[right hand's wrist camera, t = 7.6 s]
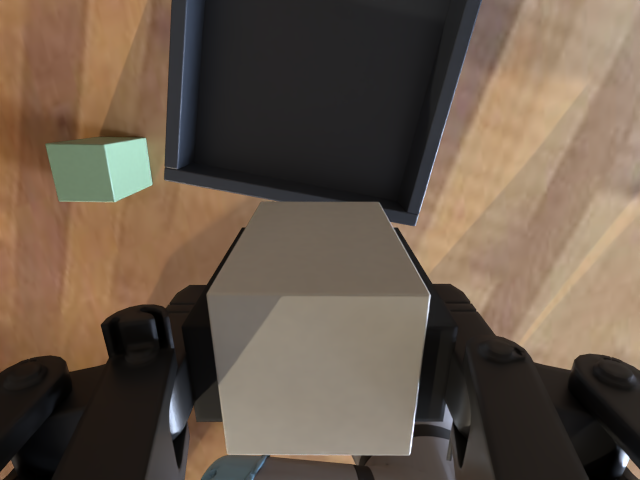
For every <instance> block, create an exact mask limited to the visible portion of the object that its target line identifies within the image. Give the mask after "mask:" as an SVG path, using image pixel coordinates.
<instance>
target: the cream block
mask: <svg viewBox="0 0 640 480" xmlns="http://www.w3.org/2000/svg"><path fill="white" fill-rule="evenodd" d="M430 296H431V295H430V293H429V291H428V289H427V287H426V286H425V284H424V282H423V280H422V279H421V277H420V275H419V273H418V271H417V270H416V268H415V266H414V264H413V262H412V261H411V259H410V257H409V255H408V253H407V252H406V250H405V248H404V246H403V244H402V243H401V241H400V239H399V237H398V235H397V234H396V232H395V230H394V228H393V226H392V225H391V223H390V221H389V219H388V217H387V216H386V214H385V212H384V210H383V208H382V207H381V205H380V203H379V202H261V203H260V204H259V206H258V208H257V209H256V211H255V213H254V215H253V216H252V218H251V220H250V221H249V223H248V225H247V226H246V228H245V230H244V231H243V233H242V235H241V237H240V238H239V240H238V242H237V243H236V245H235V247H234V248H233V250H232V252H231V253H230V255H229V257H228V259H227V260H226V262H225V264H224V265H223V267H222V269H221V270H220V272H219V274H218V275H217V277H216V279H215V281H214V282H213V284H212V286H211V287H210V289H209V291H208V292H207V303H208V311H209V318H210V326H211V334H212V342H213V349H214V357H215V365H216V373H217V381H218V388H219V396H220V404H221V412H222V419H223V427H224V435H225V443H226V450H227V454H229V455H410V453H411V445H412V438H413V430H414V422H415V414H416V406H417V398H418V390H419V383H420V375H421V367H422V359H423V351H424V343H425V336H426V328H427V320H428V312H429V304H430Z"/></svg>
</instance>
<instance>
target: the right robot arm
mask: <svg viewBox="0 0 640 480" xmlns="http://www.w3.org/2000/svg"><path fill="white" fill-rule="evenodd" d="M244 230H245V228H242V229H241V230H240V232H239V234H238V235H237V237H236V238H235V240H234V242H233V243H232V245H231V247H230V248H229V250H228V251H227V253H226V255H225V256H224V258H223V260H222V261H221V263H220V264H219V266H218V268H217V269H216V271H215V273H214V274H213V276H212V278H211V279H210V281H209V282H208V284H207V285H189V286H188V287H186V288H185V289H183V290H181V291H180V292H178V293H177V294H176V295H175V297H174V298H173V299H172V301H171V302H170V305H168V306H167V307H166V309H165V308H164V307H162V306H158V305H154V304H153V305H138V306H133V307H129V308H126V309H123V310H121V311H118V312H116V313H114V314H113V315H111V316H109V317H108V318H107V319H106V320H105V321H104V322H103V323H102V324H101V328H102V332H103V336H104V340H105V344H106V347H107V351H108V355H109V359H108V361H107V363H106V364H104V365H100V366H96V367H92V368H87V369H82V370H77V371H72V372H69V370H68V367H67V364H66V361H64V360H63V359H62V358H61V357H57V356H51V355H50V356H41V357H34V358H30V359H27V360H24V361H21V362H19V363H17V364H15V365H13V366H11V367H9V368H7V369H5V370H4V371H2V372H1V373H0V472H1V470H2V469H3V468H4V467H5V466H6V465H7V464H8V462H9V461H10V460H11V461H12V463H13V466H14V469H13V470H12V471H11V472H10V473H9V474H8V475H7V476H6V477H5V478H4V479H3V480H185V472H186V463H187V455H188V447H189V439H190V435H189V428H188V422H187V420H188V418H189V415H190V413H191V411H192V408H193V406H194V408H195V415H196V421H197V422H223V419H222V412H221V404H220V396H219V388H218V381H217V373H216V365H215V357H214V349H213V342H212V334H211V326H210V318H209V311H208V303H207V292H208V291H209V289H210V287H211V286H212V284H213V282H214V281H215V279H216V277H217V275H218V274H219V272H220V270H221V269H222V267H223V265H224V264H225V262H226V260H227V259H228V257H229V255H230V253H231V252H232V250H233V248H234V247H235V245H236V243H237V242H238V240H239V238H240V237H241V235H242V233H243V231H244ZM394 230H395V232H396V234H397V235H398V237H399V239H400V241H401V243H402V244H403V246H404V248H405V250H406V252H407V253H408V255H409V257H410V259H411V261H412V262H413V264H414V266H415V268H416V270H417V271H418V273H419V275H420V277H421V279H422V280H423V282H424V284H425V286H426V287H427V289H428V291H429V293H430V295H431V296H430V304H429V312H428V320H427V328H426V336H425V343H424V351H423V359H422V367H421V375H420V383H419V390H418V398H417V406H416V414H415V422H414V430H413V438H412V445H411V453H410V455H352V457H353V459H354V462H355V464H356V465H352V464H343V463H332V462H321V461H310V460H300V459H289V458H278V457H270V455H262V456H253V455H226V456H223V457H221V458H219V459H217V460H216V461H215V462H214V463H213V464H211V466H210V467H209V468H208V469H207V470H206V472H205V473H204V475H203V477H202V478H201V480H639V479H638V478H637V477H636V476H634V475H633V474H632V473H631V471H630V470H629V469H628V468H627V467H626V465H627V463H628V460H629V458H630V459H631V460H632V461H633V462H634V463H635V464H636V466H637V467H638V468H639V469H640V371H639V370H638V369H636V368H635V367H633V366H631V365H629V364H627V363H625V362H623V361H621V360H619V359H616V358H613V357H612V358H611V357H609V356H605V355H597V354H585V355H580V356H579V357H577V358H576V359H575V360H574V363H573V366H572V369H571V370H566V369H561V368H556V367H552V366H547V365H542V364H538V363H535V362H533V360H532V358H531V357H530V355H529V354H528V353H527V351H526V350H525V349H524V348H522V347H521V346H519V345H518V344H517V343H515V342H513V341H510V340H508V339H506V338H503V337H499V336H496V335H495V334H494V333H493V331H492V330H491V329H490V327H489V326H488V325H487V323H486V322H485V321H484V319H483V318H482V317H481V315H480V314H479V313H478V312H476V309H475V307H474V306H473V305H472V304H470V301H469V299H468V298H467V297H466V295H465V294H464V293H463V292H462V291H461V290H459V289H457V288H456V287H454V286H453V285H451V284H432V283H431V281H430V279H429V278H428V276H427V275H426V273H425V271H424V270H423V268H422V266H421V265H420V263H419V262H418V260H417V258H416V257H415V255H414V253H413V252H412V250H411V248H410V247H409V245H408V244H407V242H406V240H405V239H404V237H403V235H402V234H401V232H400V231H399V229H398V228H394Z"/></svg>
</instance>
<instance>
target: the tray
mask: <svg viewBox="0 0 640 480" xmlns="http://www.w3.org/2000/svg"><path fill="white" fill-rule="evenodd" d="M481 1H482V0H172V5H171V29H170V52H169V75H168V99H167V122H166V146H165V171H164V180H166V181H171V182H176V183H182V184H187V185H193V186H198V187H204V188H209V189H215V190H220V191H225V192H231V193H236V194H242V195H247V196H253V197H258V198H263V199H269V200H274V201H280V202H379V203H380V205H381V207H382V208H383V210H384V212H385V214H386V216H387V217H388V219H389V221H390V222H394V223H399V224H405V225H410V226H415V225H416V222H417V219H418V214H419V212H420V209H421V206H422V202H423V199H424V195H425V192H426V189H427V185H428V182H429V178H430V175H431V172H432V168H433V165H434V161H435V158H436V155H437V151H438V148H439V144H440V141H441V138H442V134H443V131H444V127H445V124H446V121H447V117H448V114H449V110H450V107H451V104H452V100H453V97H454V93H455V90H456V86H457V83H458V80H459V76H460V73H461V69H462V66H463V63H464V59H465V56H466V52H467V49H468V46H469V42H470V39H471V35H472V32H473V29H474V25H475V22H476V18H477V15H478V12H479V8H480V5H481Z"/></svg>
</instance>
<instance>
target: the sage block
mask: <svg viewBox="0 0 640 480" xmlns="http://www.w3.org/2000/svg"><path fill="white" fill-rule="evenodd" d="M45 145H46V149H47V153H48V158H49V162H50V166H51V170H52V174H53V179H54V183H55V187H56V191H57V196H58V200H59V201H65V202H116V201H118V200H120V199H123V198H125V197H127V196H129V195H131V194H134V193H136V192H138V191H140V190H142V189H145V188H147V187H149V186H151V185H152V178H151V171H150V164H149V157H148V150H147V143H146V138H139V137H93V138H85V139H78V140H70V141H62V142H54V143H46V144H45Z"/></svg>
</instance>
